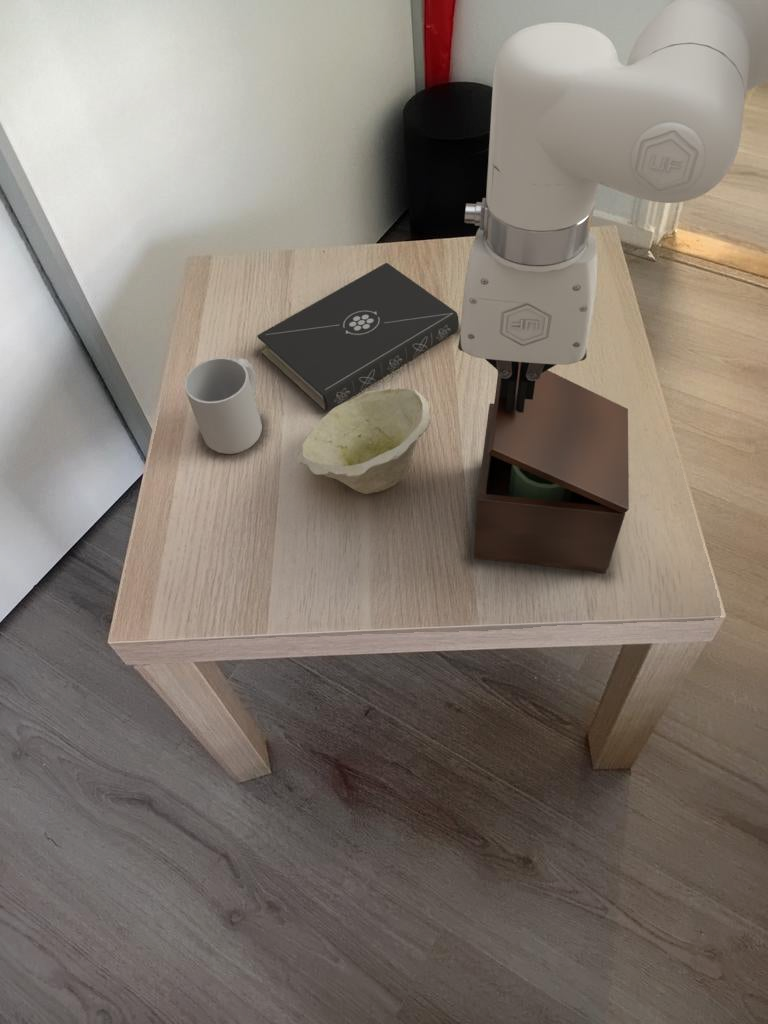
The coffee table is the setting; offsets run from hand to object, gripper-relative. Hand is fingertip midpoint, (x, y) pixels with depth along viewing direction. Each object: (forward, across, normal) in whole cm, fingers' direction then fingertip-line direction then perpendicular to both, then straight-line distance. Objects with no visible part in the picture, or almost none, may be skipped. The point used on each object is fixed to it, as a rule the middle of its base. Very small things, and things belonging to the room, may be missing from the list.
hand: (515, 400), depth 71 cm
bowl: (+18, -16, +4) cm, 24 cm away
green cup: (+17, +4, 0) cm, 17 cm away
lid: (+4, +4, 0) cm, 6 cm away
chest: (+17, +4, 0) cm, 18 cm away
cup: (+18, -33, +9) cm, 38 cm away
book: (+18, -21, +25) cm, 37 cm away
